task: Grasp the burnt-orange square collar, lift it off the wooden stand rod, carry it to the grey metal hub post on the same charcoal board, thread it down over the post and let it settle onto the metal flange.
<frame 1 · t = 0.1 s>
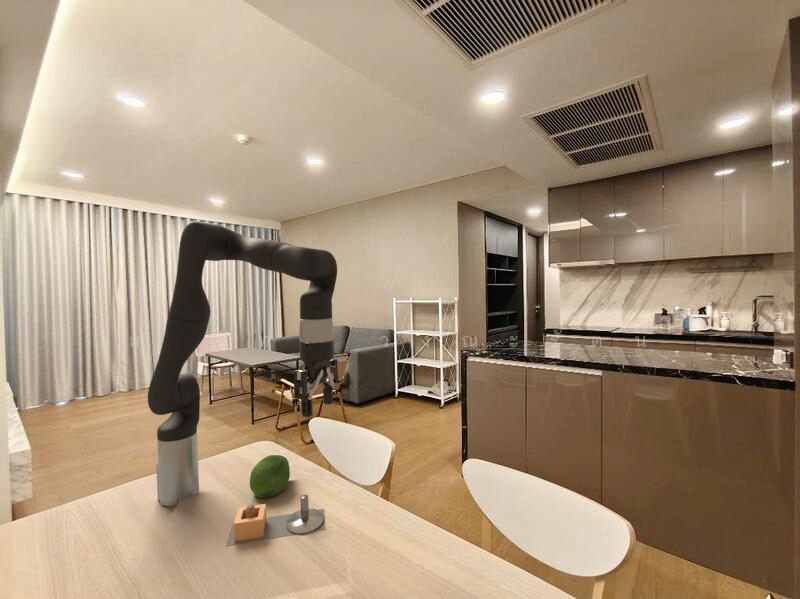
hand: (318, 409, 83), 29 cm above the table, fingers open, 8 cm apart
collar: (250, 521, 84), on the board, point 4 cm above the table
hub: (304, 521, 87), resting on board
stand rod: (250, 518, 84), on the board, point 4 cm above the table
board: (278, 532, 86), on the table
fruit: (272, 491, 103), on the table
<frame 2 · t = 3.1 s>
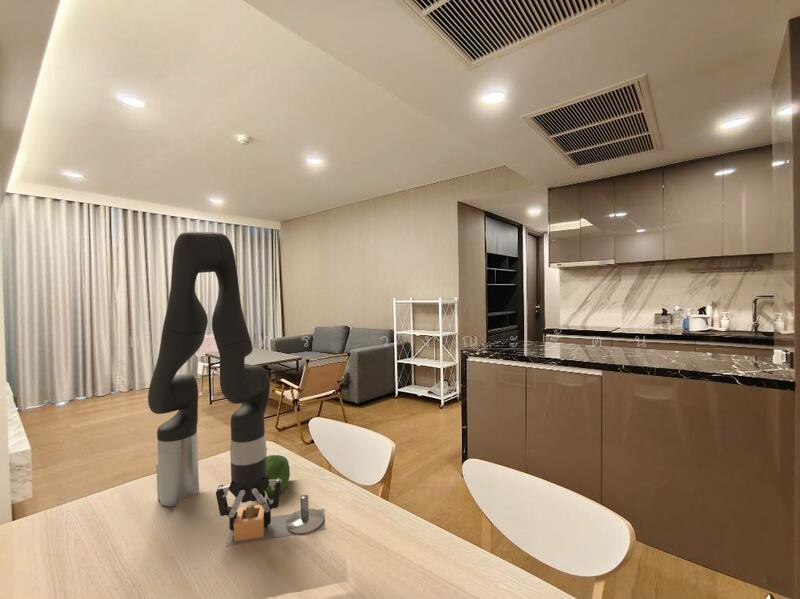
hand: (251, 527, 84), 2 cm above the table, fingers closed on collar, 6 cm apart
collar: (250, 521, 84), on the board, point 4 cm above the table, touching gripper
everything else where it was.
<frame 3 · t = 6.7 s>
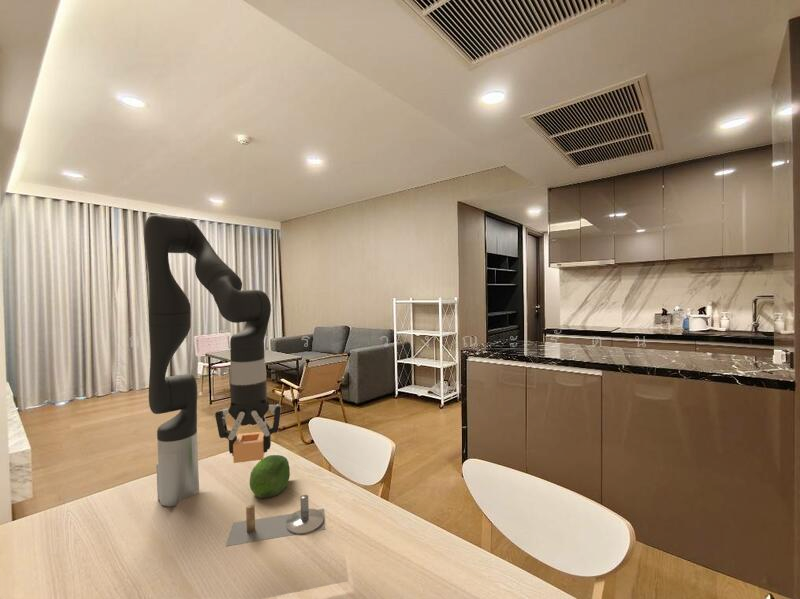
hand: (250, 452, 84), 20 cm above the table, fingers closed on collar, 6 cm apart
collar: (250, 446, 84), point 21 cm above the table, touching gripper
everything else where it was.
when the fingers open (4 cm above the table, at t = 10.4 s): collar stays where it is, resting on hub.
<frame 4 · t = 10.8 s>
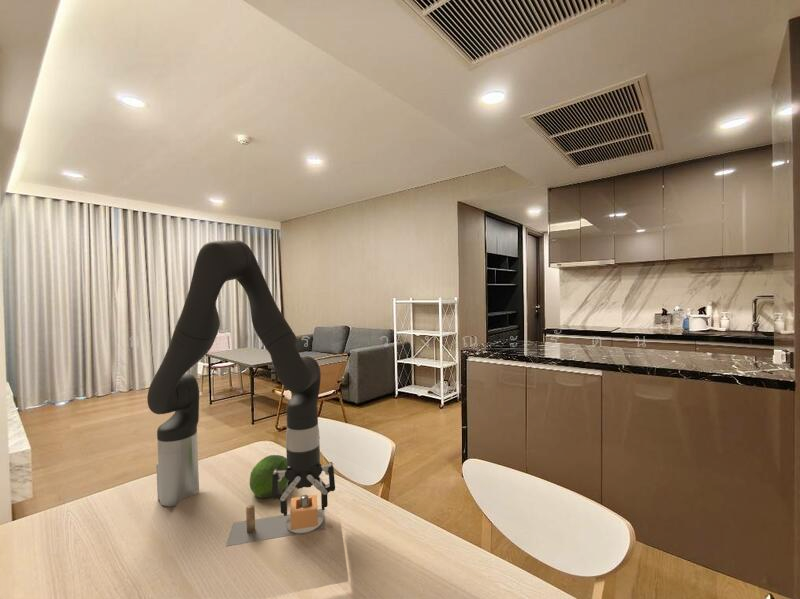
hand: (304, 511, 87), 4 cm above the table, fingers open, 8 cm apart
collar: (304, 511, 87), point 4 cm above the table, touching hub
everything else where it was.
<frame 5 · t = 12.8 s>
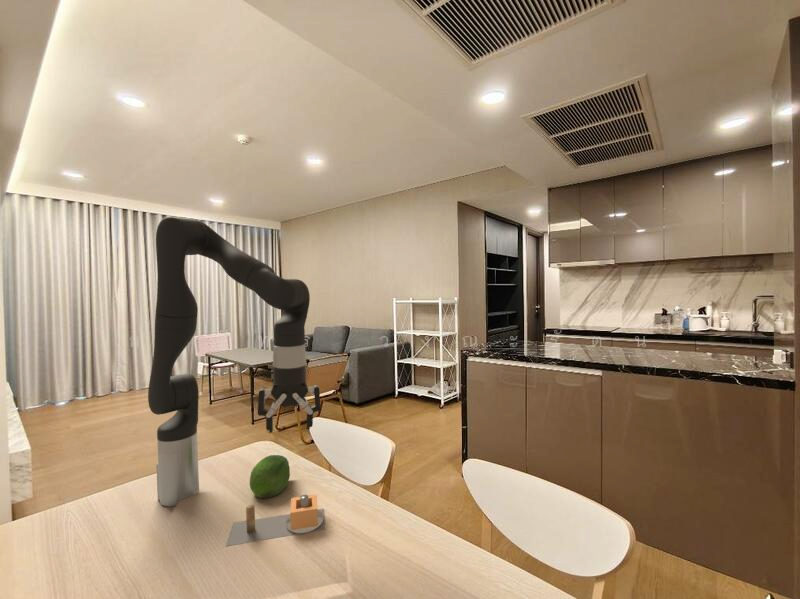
hand: (290, 429, 89), 23 cm above the table, fingers open, 8 cm apart
nothing on the table moved.
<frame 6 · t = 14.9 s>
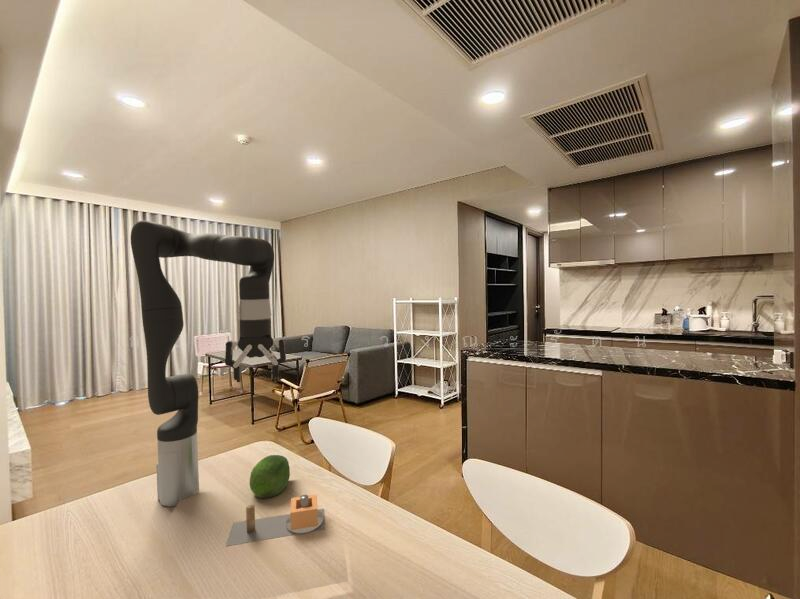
hand: (257, 380, 94), 33 cm above the table, fingers open, 8 cm apart
nothing on the table moved.
at the end: collar 0.1 cm off-centre on the hub, point 2.5 cm above the hub's base; the gripper is holding nothing; collar tilted 0° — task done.
